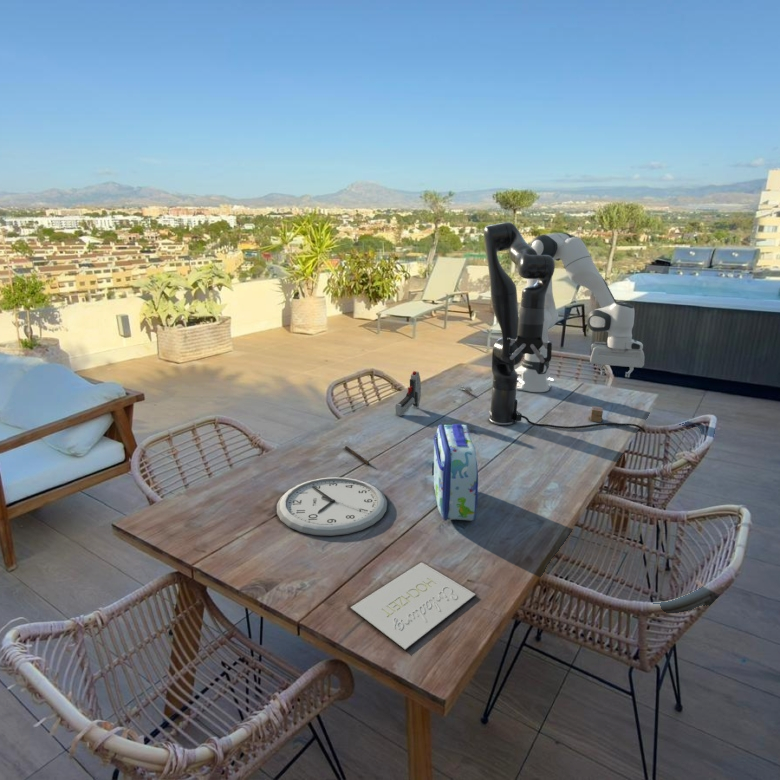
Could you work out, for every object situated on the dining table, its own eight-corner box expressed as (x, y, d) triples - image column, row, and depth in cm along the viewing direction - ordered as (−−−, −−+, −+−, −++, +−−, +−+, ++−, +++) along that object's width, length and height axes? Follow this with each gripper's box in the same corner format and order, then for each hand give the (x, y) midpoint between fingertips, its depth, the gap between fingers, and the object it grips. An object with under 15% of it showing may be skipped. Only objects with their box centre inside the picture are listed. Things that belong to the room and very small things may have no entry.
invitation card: (421, 561, 119) (475, 593, 109) (421, 562, 119) (475, 594, 109) (350, 606, 104) (405, 648, 94) (350, 608, 104) (405, 649, 94)
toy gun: (394, 379, 206) (416, 369, 217) (395, 417, 212) (416, 405, 223) (399, 380, 205) (420, 370, 216) (400, 418, 211) (421, 406, 222)
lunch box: (430, 480, 157) (433, 415, 151) (465, 481, 157) (470, 415, 151) (436, 527, 133) (440, 452, 126) (478, 528, 133) (484, 453, 126)
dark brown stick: (344, 448, 179) (344, 445, 179) (346, 448, 179) (346, 445, 179) (367, 464, 167) (367, 462, 167) (368, 464, 167) (368, 461, 167)
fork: (470, 397, 235) (470, 393, 235) (457, 387, 250) (457, 383, 249) (475, 396, 236) (476, 392, 236) (462, 386, 251) (462, 382, 250)
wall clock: (392, 527, 129) (268, 531, 127) (391, 533, 130) (269, 537, 127) (383, 473, 158) (282, 475, 155) (383, 478, 158) (282, 480, 156)
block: (590, 417, 213) (592, 406, 212) (601, 418, 212) (602, 407, 211) (590, 421, 209) (592, 409, 208) (601, 422, 208) (602, 411, 206)
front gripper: (505, 321, 160) (501, 372, 165) (554, 325, 155) (548, 377, 160) (509, 318, 167) (505, 367, 172) (555, 321, 162) (550, 371, 167)
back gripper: (591, 342, 211) (587, 375, 215) (647, 346, 204) (642, 380, 208) (591, 339, 217) (587, 371, 221) (645, 343, 210) (640, 376, 214)
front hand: (526, 372), depth 166 cm, fingers open, 8 cm apart
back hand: (614, 376), depth 214 cm, fingers open, 8 cm apart
